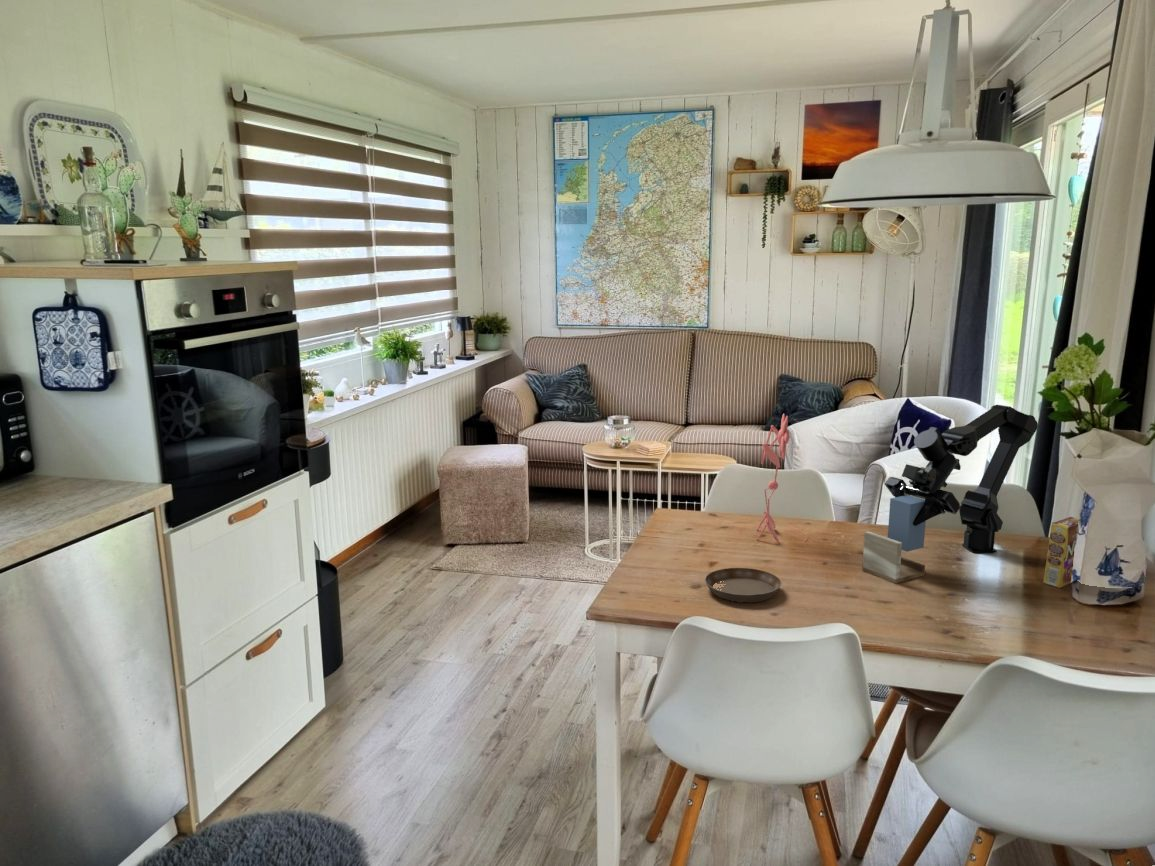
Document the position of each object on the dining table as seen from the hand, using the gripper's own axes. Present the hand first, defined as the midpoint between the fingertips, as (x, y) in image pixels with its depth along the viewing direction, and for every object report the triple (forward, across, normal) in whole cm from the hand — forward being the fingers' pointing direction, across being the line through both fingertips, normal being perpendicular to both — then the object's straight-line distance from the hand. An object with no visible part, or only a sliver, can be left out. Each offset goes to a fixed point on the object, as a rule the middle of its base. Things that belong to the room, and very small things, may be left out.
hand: (903, 521), depth 206 cm
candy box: (-10, +25, +28) cm, 39 cm away
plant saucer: (+39, -10, -20) cm, 45 cm away
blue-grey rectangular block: (+4, 0, +6) cm, 7 cm away
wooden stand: (+11, 0, +8) cm, 13 cm away
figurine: (+14, -35, +5) cm, 38 cm away
